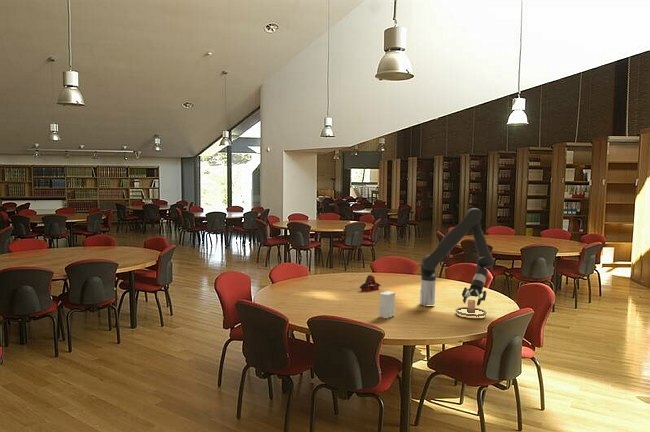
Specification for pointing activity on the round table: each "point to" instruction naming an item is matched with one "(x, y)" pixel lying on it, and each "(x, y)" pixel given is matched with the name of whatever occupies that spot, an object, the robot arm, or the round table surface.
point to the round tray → (471, 314)
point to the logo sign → (369, 288)
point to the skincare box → (387, 304)
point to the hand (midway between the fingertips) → (470, 303)
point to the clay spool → (471, 306)
